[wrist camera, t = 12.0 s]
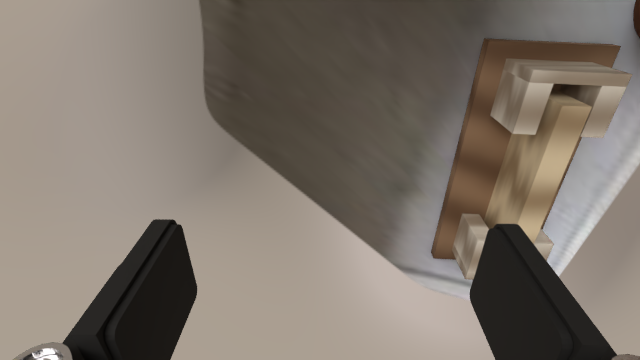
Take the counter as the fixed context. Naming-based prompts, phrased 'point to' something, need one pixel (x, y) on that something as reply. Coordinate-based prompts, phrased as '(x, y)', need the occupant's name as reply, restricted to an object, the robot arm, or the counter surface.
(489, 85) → the board
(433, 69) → the counter surface
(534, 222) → the slat
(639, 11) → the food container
